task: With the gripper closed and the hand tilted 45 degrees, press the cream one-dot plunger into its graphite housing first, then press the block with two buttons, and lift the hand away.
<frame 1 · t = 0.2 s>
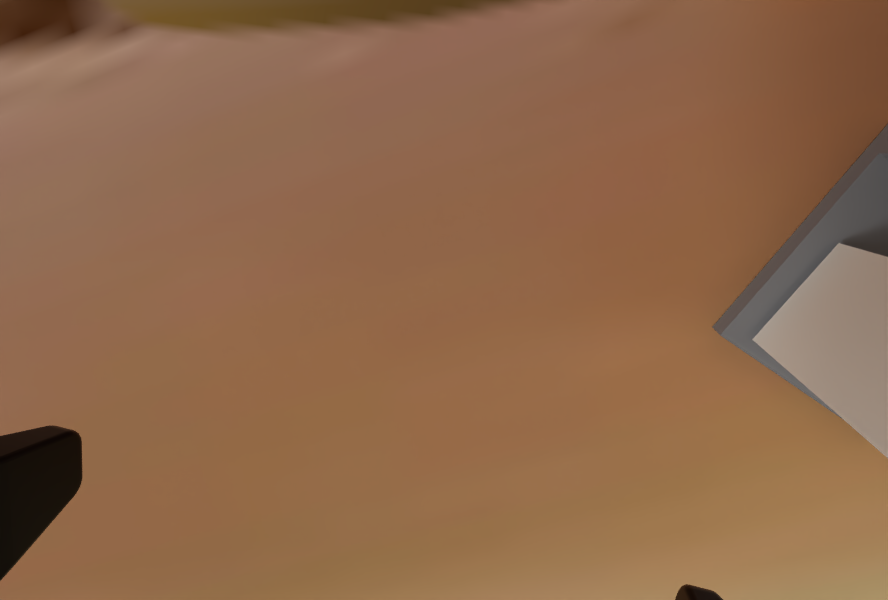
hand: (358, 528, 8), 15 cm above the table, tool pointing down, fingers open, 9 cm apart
housing one: (845, 329, 20), on the table
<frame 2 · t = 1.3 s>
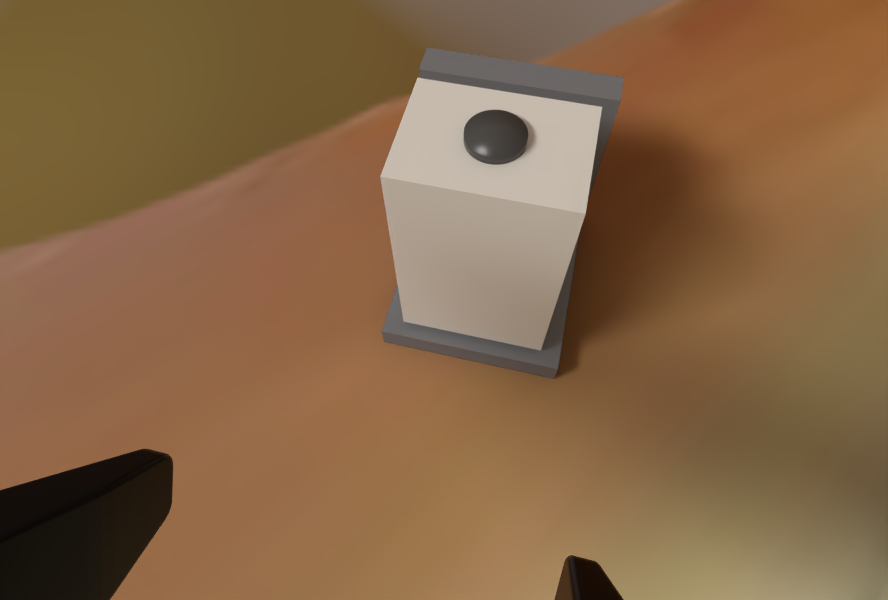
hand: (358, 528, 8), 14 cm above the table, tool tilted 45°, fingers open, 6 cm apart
plunger one: (487, 228, 20), point 6 cm above the table, slide at 0.0 cm
housing one: (480, 308, 25), on the table
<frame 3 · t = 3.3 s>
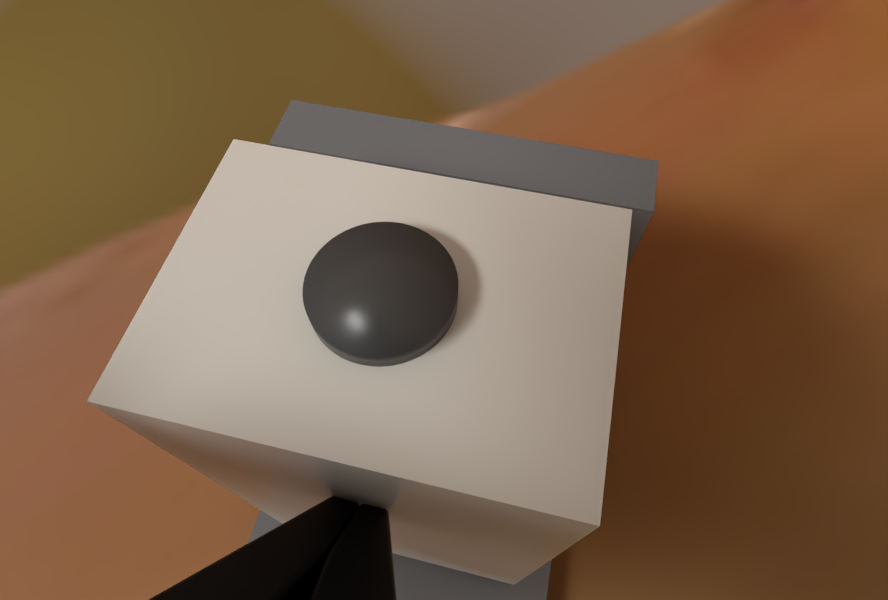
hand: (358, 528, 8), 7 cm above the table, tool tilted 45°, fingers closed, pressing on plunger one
plunger one: (406, 411, 11), point 6 cm above the table, slide at 1.0 cm, touching gripper
housing one: (411, 518, 15), on the table
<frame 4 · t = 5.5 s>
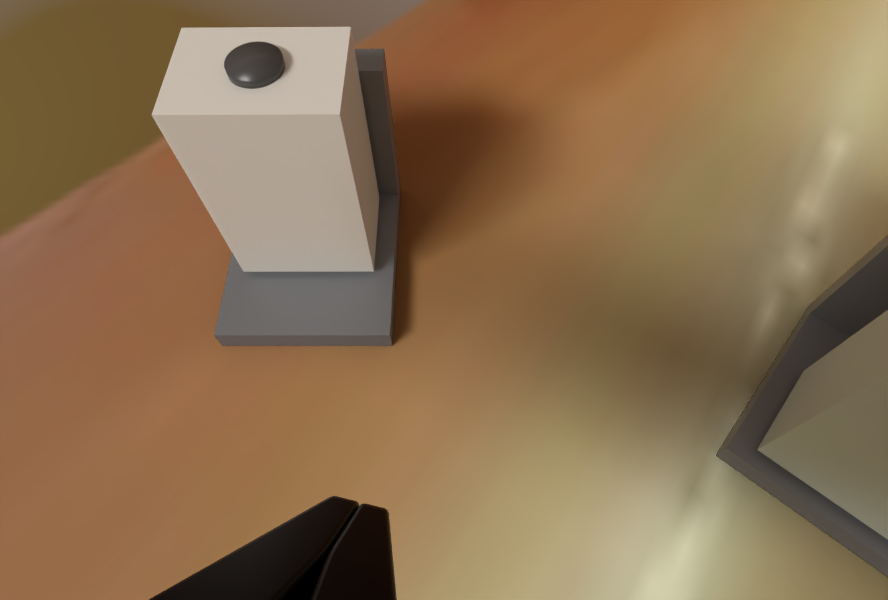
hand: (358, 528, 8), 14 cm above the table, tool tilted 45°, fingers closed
plunger one: (289, 162, 22), point 6 cm above the table, slide at 2.4 cm
housing two: (834, 466, 22), on the table
housing one: (313, 294, 26), on the table
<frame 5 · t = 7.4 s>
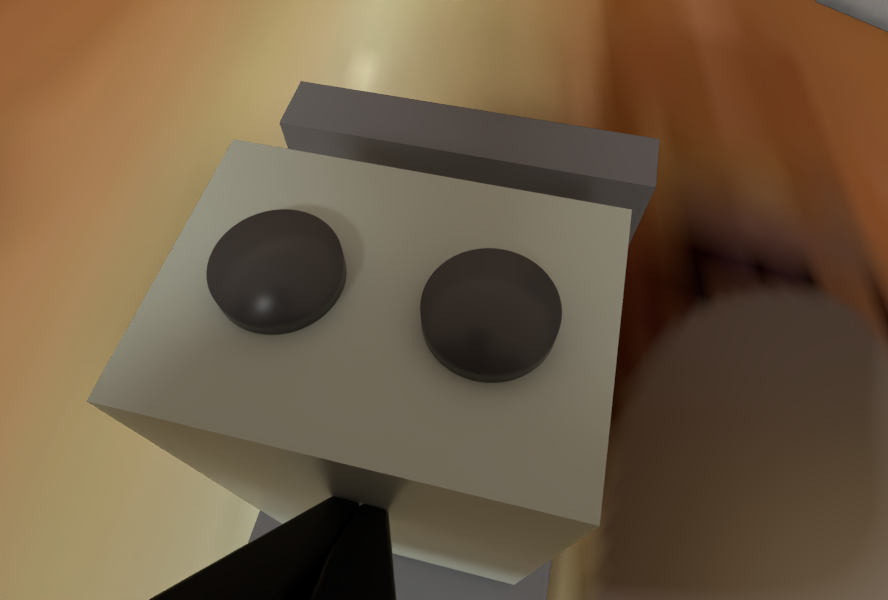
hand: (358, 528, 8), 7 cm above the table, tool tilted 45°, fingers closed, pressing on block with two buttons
housing two: (416, 496, 16), on the table
block with two buttons: (406, 411, 11), point 6 cm above the table, slide at 0.4 cm, touching gripper
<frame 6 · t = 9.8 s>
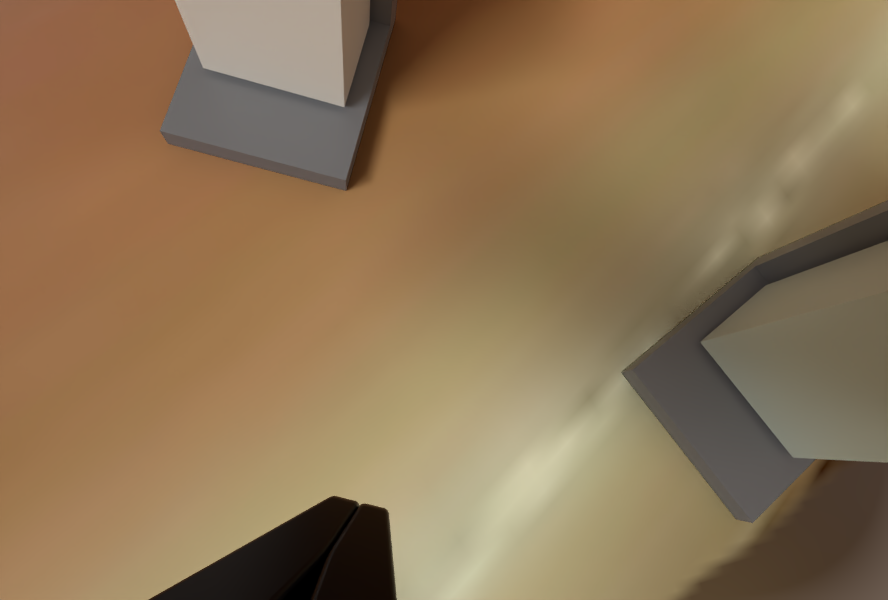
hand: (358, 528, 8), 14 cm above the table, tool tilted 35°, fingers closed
housing two: (719, 406, 24), on the table
housing one: (276, 113, 24), on the table
block with two buttons: (876, 353, 19), point 6 cm above the table, slide at 2.4 cm
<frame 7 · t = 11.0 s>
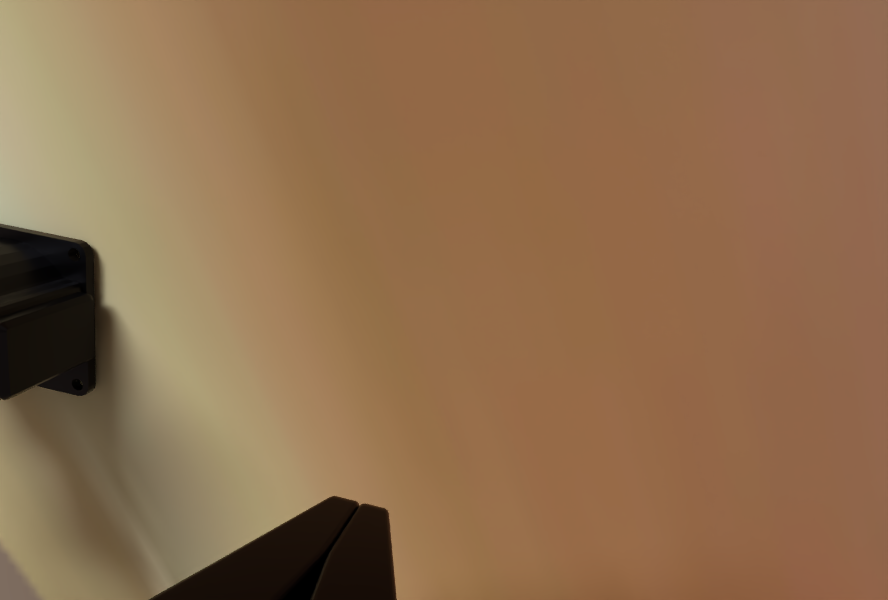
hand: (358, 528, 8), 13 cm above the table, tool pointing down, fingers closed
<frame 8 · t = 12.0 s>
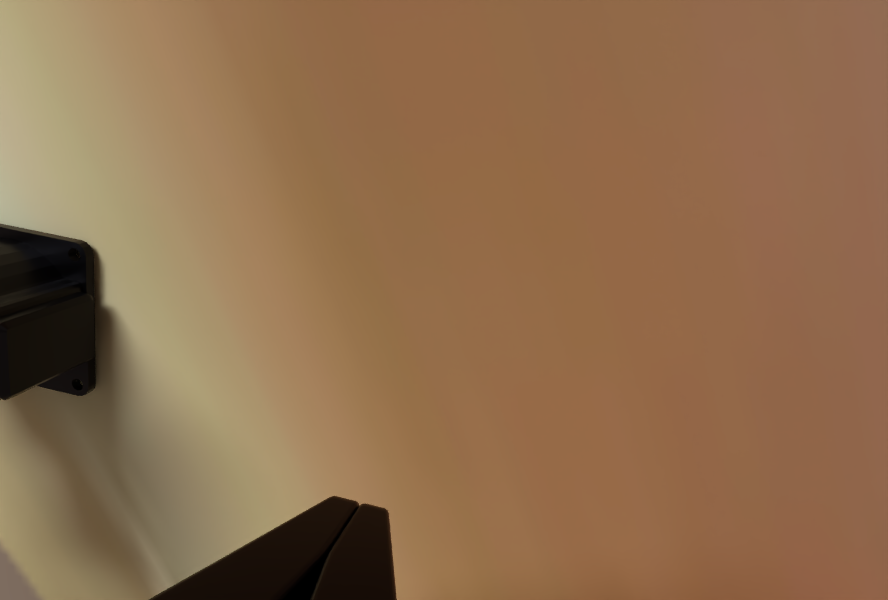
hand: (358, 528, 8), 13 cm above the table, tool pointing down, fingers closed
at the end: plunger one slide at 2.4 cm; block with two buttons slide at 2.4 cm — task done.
